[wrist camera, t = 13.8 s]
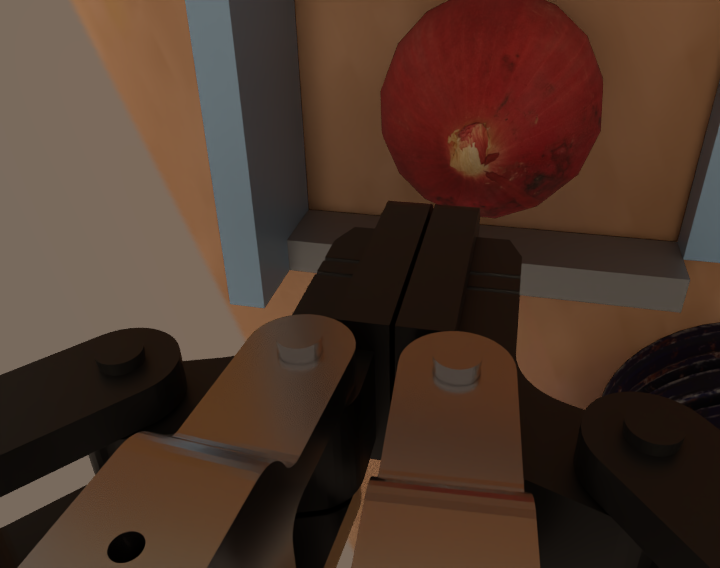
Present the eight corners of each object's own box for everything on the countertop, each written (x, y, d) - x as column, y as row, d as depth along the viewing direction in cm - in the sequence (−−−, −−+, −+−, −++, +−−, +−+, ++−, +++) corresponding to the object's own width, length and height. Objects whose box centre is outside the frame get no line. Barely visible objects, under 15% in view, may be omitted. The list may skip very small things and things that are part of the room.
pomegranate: (636, 72, 20) (679, 172, 13) (493, 193, 23) (470, 323, 16) (503, -75, 19) (477, -45, 12) (371, 72, 22) (293, 160, 15)
